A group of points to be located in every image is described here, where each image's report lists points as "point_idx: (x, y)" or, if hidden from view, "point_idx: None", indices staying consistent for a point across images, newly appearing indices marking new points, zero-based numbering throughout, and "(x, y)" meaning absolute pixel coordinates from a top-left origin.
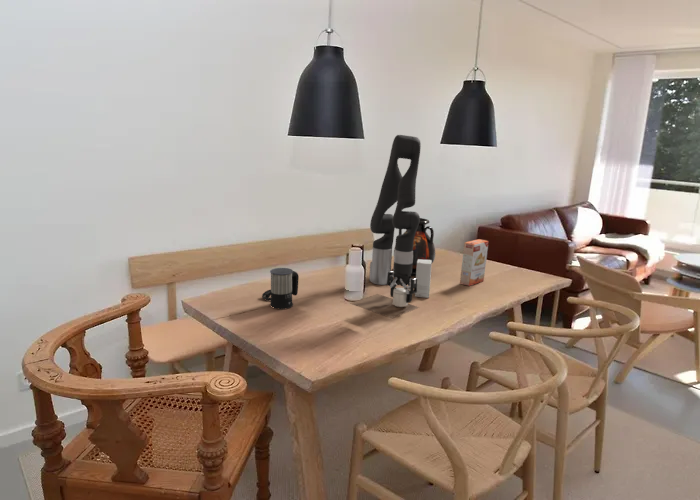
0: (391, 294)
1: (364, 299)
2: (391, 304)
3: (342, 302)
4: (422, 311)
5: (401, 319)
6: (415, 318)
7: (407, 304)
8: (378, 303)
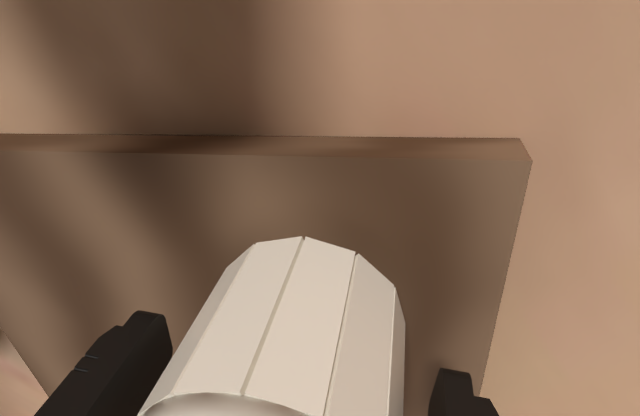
0: (146, 387)
1: (22, 337)
2: None
3: (4, 377)
4: (574, 122)
5: None
6: (589, 343)
7: (397, 301)
8: None
